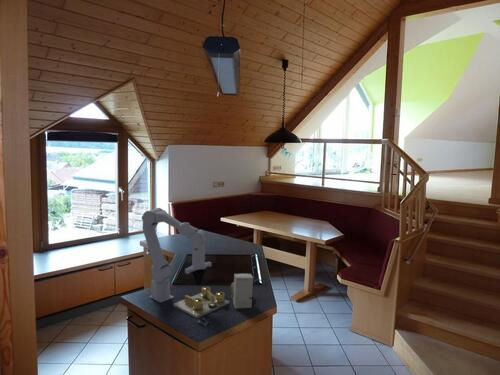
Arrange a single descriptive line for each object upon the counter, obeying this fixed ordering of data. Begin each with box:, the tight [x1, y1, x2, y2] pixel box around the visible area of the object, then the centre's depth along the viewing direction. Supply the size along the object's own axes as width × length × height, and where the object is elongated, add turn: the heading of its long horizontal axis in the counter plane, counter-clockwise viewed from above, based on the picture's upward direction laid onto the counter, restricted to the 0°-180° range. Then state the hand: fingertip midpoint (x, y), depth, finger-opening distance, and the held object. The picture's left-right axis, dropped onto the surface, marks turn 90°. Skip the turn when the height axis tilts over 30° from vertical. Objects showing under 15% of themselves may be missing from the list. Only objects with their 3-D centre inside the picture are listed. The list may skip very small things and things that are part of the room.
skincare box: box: [232, 273, 254, 310], centre depth 168 cm, size 8×6×15 cm
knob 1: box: [183, 294, 203, 310], centre depth 164 cm, size 11×4×4 cm, turn 49°
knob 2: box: [200, 286, 215, 303], centre depth 172 cm, size 11×4×4 cm, turn 29°
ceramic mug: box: [229, 281, 234, 301], centre depth 177 cm, size 11×8×8 cm
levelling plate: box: [172, 291, 230, 319], centre depth 168 cm, size 17×20×6 cm
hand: (198, 284), depth 168 cm, fingers closed
